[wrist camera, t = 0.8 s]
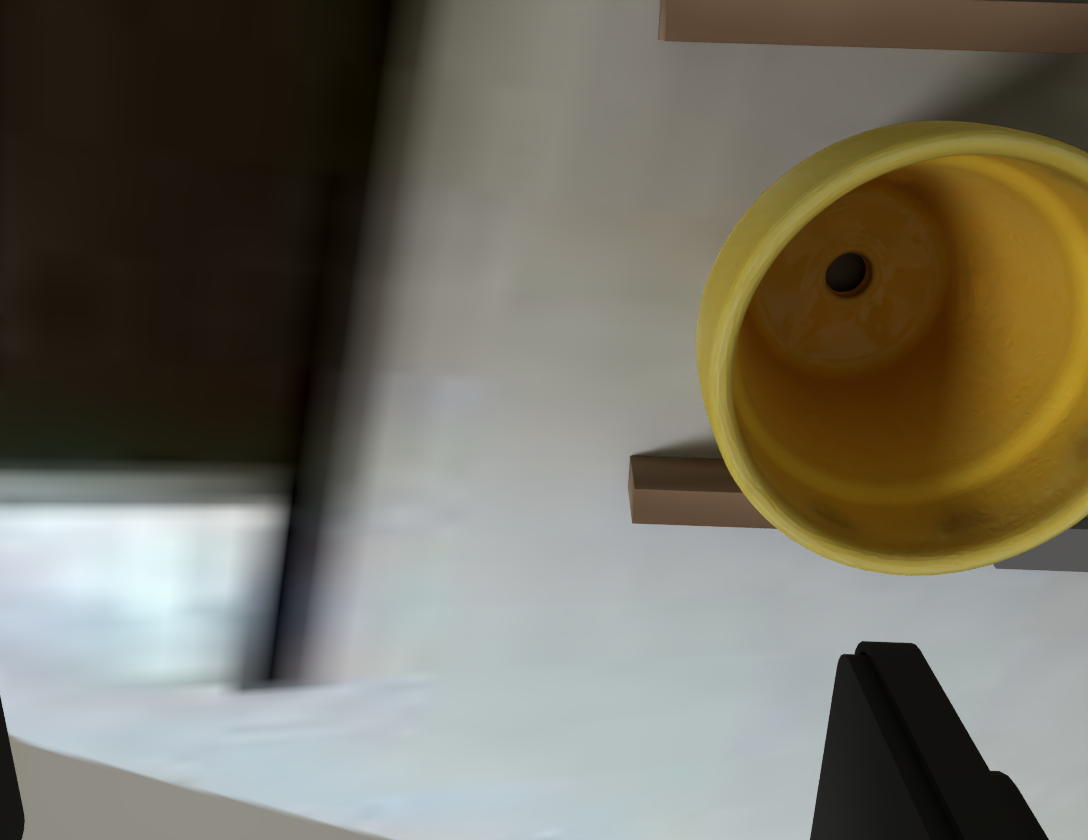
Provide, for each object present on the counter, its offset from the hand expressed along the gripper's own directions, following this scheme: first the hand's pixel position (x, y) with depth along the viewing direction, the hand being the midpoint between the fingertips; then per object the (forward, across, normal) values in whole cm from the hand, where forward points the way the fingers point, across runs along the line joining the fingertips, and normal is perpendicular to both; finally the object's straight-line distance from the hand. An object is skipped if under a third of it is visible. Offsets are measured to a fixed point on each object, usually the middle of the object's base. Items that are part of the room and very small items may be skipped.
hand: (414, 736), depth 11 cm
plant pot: (+22, -10, -1) cm, 24 cm away
